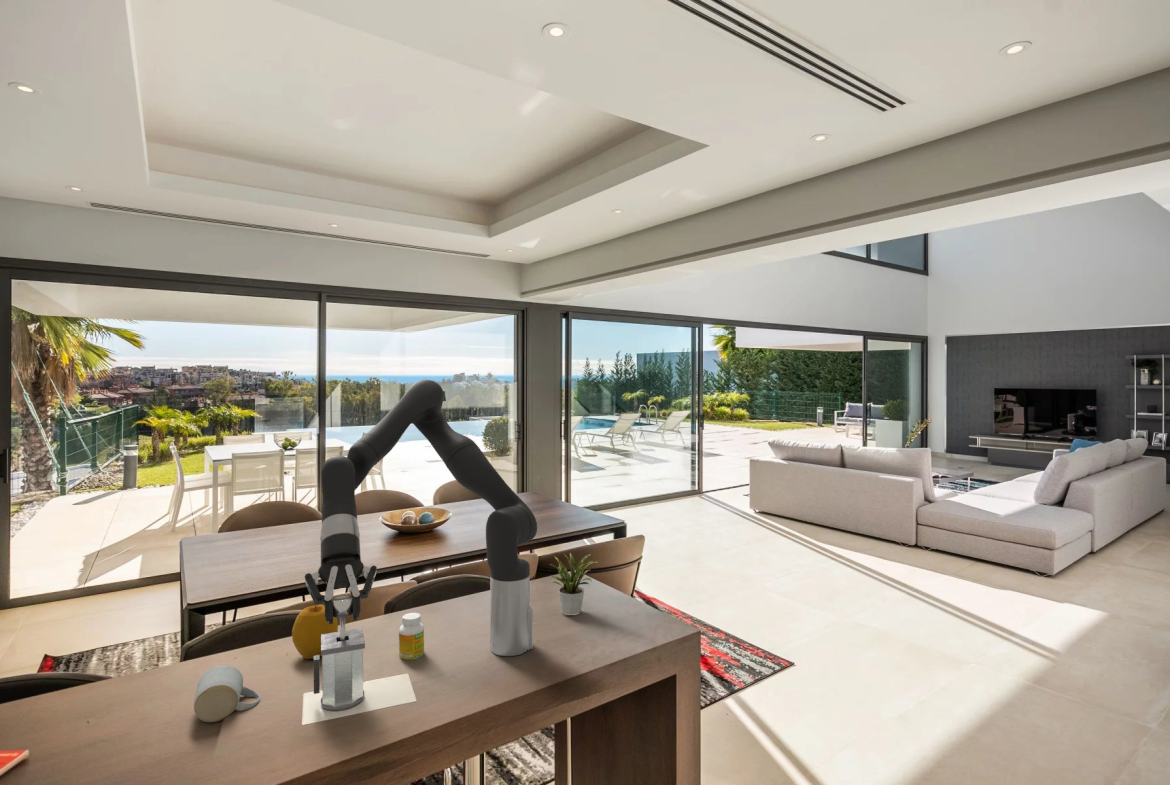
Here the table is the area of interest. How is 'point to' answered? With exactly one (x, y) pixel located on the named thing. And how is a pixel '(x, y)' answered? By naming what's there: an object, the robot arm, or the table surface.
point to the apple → (311, 630)
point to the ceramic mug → (221, 694)
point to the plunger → (342, 611)
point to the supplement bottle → (411, 637)
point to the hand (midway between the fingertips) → (342, 620)
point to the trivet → (375, 697)
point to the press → (340, 670)
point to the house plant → (571, 585)
